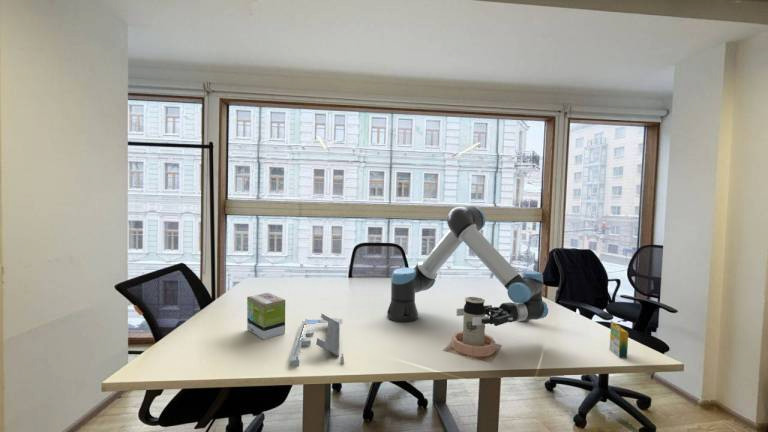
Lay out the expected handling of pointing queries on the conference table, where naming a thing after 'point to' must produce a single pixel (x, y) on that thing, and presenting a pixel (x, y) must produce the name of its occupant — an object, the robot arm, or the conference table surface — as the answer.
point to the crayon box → (618, 340)
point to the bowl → (473, 350)
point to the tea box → (266, 315)
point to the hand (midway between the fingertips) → (464, 316)
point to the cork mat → (487, 358)
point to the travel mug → (472, 309)
